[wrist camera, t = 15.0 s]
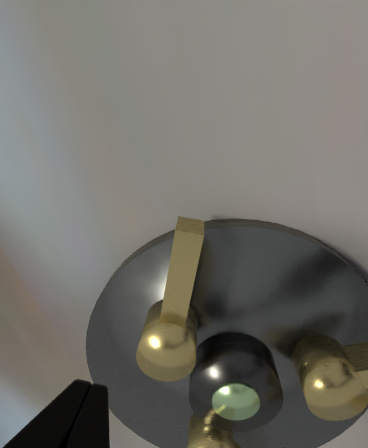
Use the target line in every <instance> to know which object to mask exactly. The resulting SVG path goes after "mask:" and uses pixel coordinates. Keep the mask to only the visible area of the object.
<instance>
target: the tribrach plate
mask: <svg viewBox="0 0 368 448" xmlns="http://www.w3.org/2000/svg"><path fill="white" fill-rule="evenodd" d="M174 234H175V230H172V231H170V232H168V233H166V234H164V235H161V236H159V237H157V238H155V239H153V240H152V241H150V242H149V243H147V244H146V245H144V246H142V247H141V248H139V249H138V250H137V251H136V252H134V253H133V254H132V255H131V256H130V257H129V258H127V259H126V260H125V261H124V262H123V263H122V264H121V266H120V267H119V268H118V269H117V270H116V271H115V273H114V274H113V275H112V277H111V278H110V280H109V281H108V283H107V285H106V286H105V288H104V290H103V291H102V293H101V295H100V297H99V298H98V300H97V302H96V305H95V307H94V309H93V312H92V314H91V317H90V321H89V325H88V329H87V337H86V354H87V363H88V367H89V371H90V375H91V378H92V380H93V382H94V383H97V384H101V385H106V386H107V387H108V407H109V409H110V410H111V411H112V413H113V414H114V415H115V416H116V417H117V418H118V419H119V420H120V421H121V422H122V423H123V424H124V425H125V426H127V427H128V428H129V429H131V430H132V431H133V432H134V433H136V434H137V435H139V436H140V437H142V438H143V439H145V440H147V441H148V442H150V443H152V444H154V445H156V446H158V447H160V448H187V444H188V425H189V420H190V418H191V416H192V415H193V414H196V416H197V417H198V418H199V419H201V420H202V421H203V422H205V423H206V424H208V425H210V426H212V427H214V428H217V429H220V430H224V431H232V432H233V435H234V441H235V442H237V443H238V444H239V445H240V446H241V447H242V448H317V447H319V446H321V445H323V444H326V443H327V442H329V441H330V440H332V439H334V438H335V437H337V436H339V435H340V434H341V433H343V432H344V431H345V430H346V429H348V428H349V427H350V426H352V425H353V424H354V423H355V422H356V421H357V420H358V419H359V418H360V417H361V416H362V415H363V414H364V413H365V411H366V410H367V409H368V404H367V406H366V407H365V408H364V410H363V411H362V412H360V413H359V414H358V415H356V416H354V417H352V418H349V419H346V420H341V421H329V420H325V419H321V418H319V417H317V416H316V415H314V414H313V413H312V412H311V411H310V410H309V408H308V405H307V402H306V399H305V396H304V394H303V391H302V388H301V385H300V382H299V379H298V376H297V373H296V370H295V367H294V364H293V362H292V351H293V349H294V347H295V346H296V344H297V343H298V342H300V341H301V340H302V339H304V338H306V337H309V336H313V335H327V336H330V337H333V338H335V339H336V340H337V341H339V343H340V344H341V345H342V346H344V345H349V344H355V343H361V342H367V341H368V285H367V284H366V282H365V281H364V280H363V279H362V278H361V276H360V275H359V274H358V273H357V272H356V271H355V270H354V269H353V268H352V267H351V265H350V264H349V263H348V262H347V261H345V260H344V259H343V258H342V257H341V256H340V255H339V254H338V253H336V252H335V251H334V250H333V249H331V248H330V247H328V246H327V245H325V244H324V243H322V242H321V241H319V240H317V239H315V238H313V237H311V236H309V235H307V234H305V233H303V232H301V231H299V230H295V229H292V228H289V227H286V226H283V225H280V224H276V223H270V222H265V221H260V220H249V219H222V220H211V221H206V222H204V238H203V243H202V247H201V252H200V257H199V262H198V266H197V271H196V276H195V281H194V285H193V290H192V295H191V299H190V304H189V305H190V306H191V307H192V308H193V309H194V311H195V313H196V315H197V345H196V364H195V367H194V369H193V371H192V372H191V373H190V374H189V375H188V376H186V377H185V378H183V379H181V380H177V381H171V382H166V381H160V380H156V379H153V378H151V377H149V376H148V375H146V374H145V373H144V372H143V371H142V370H141V369H140V367H139V366H138V363H137V360H136V352H137V348H138V345H139V341H140V338H141V334H142V331H143V327H144V323H145V320H146V316H147V313H148V310H149V309H150V307H151V306H152V305H153V304H154V303H156V302H157V301H159V300H162V299H163V298H164V292H165V286H166V280H167V274H168V269H169V263H170V257H171V251H172V246H173V240H174ZM367 391H368V389H367Z"/></svg>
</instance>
